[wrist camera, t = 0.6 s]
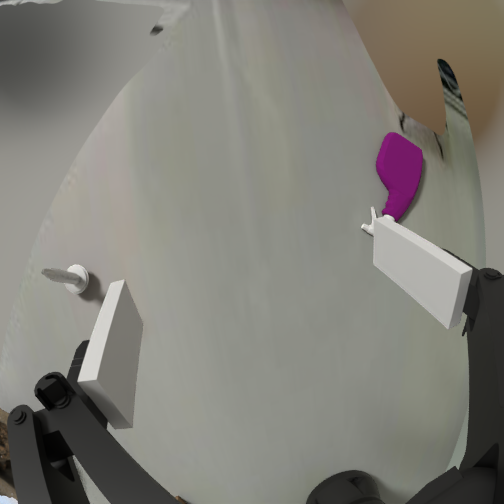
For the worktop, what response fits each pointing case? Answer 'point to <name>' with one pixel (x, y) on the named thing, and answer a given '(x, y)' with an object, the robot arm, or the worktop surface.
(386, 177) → the spray bottle
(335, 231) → the worktop surface
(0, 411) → the stone bowl
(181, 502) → the walnut block
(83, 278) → the screw
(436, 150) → the worktop surface
